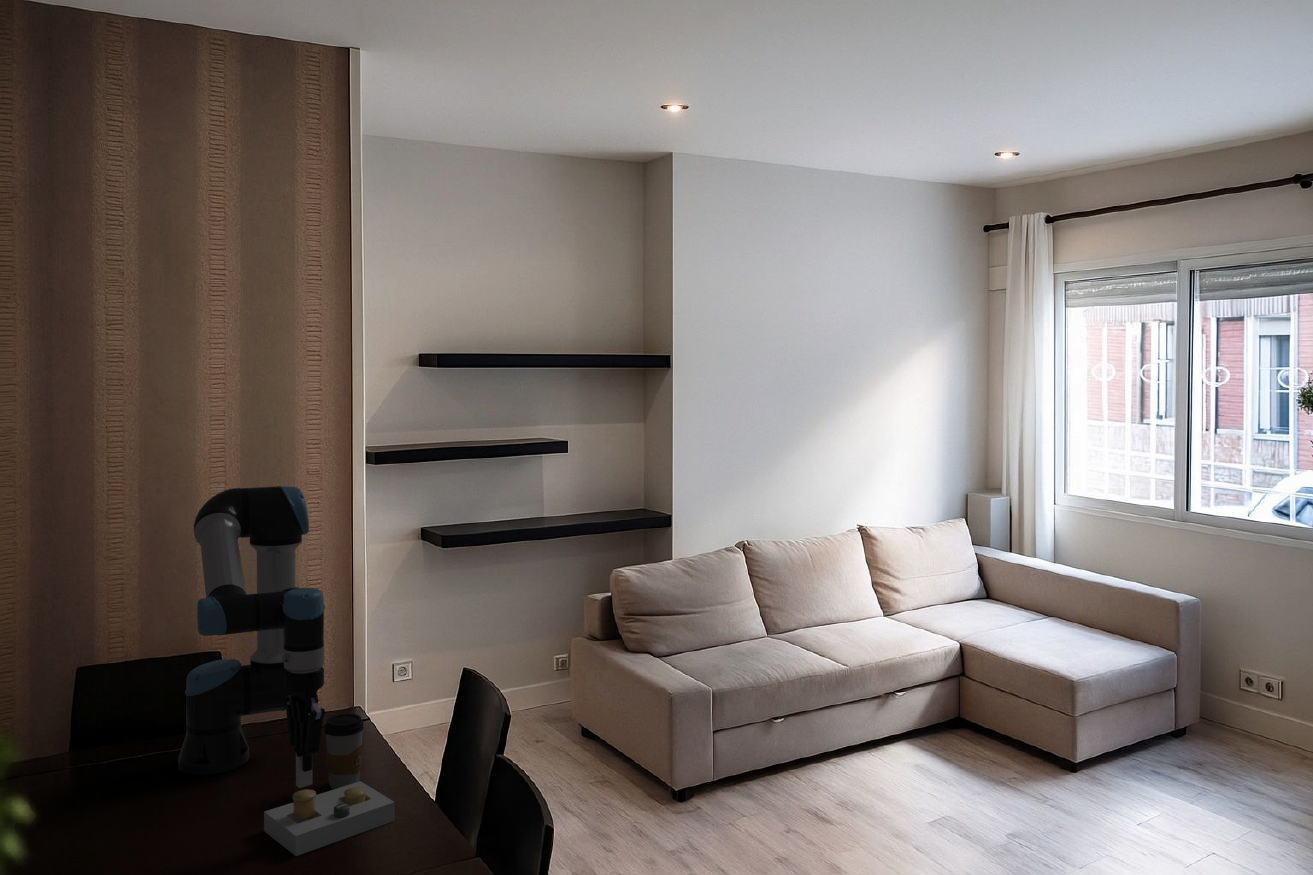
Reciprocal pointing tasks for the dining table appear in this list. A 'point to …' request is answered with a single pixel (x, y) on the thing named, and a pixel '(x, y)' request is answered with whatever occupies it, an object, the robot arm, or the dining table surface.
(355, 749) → the coffee cup
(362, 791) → the knob
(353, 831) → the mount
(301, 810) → the knob
